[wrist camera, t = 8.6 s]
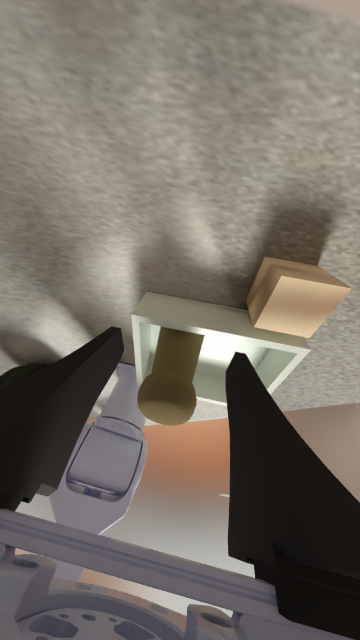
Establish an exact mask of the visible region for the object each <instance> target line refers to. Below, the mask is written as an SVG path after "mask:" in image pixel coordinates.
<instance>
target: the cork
mask: <svg viewBox="0 0 360 640" xmlns="http://www.w3.org/2000/svg"><path fill="white" fill-rule="evenodd" d="M204 336H205V335H202V334H197V333H192V332H187V331H182V330H177V329H172V328H167V327H162V326H161V327H160V332H159V337H158V342H157V347H156V352H155V357H154V362H153V367H152V372H151V374H150V375H148V376H147V377H146V378H145V379H144V381H143V382H142V384H141V386H140V388H139V391H138V396H137V402H138V408H139V410H140V411H141V413H142V414H143V415H144V416H145V417H147V418H148V419H150V420H152V421H154V422H157V423H160V424H164V425H180V424H183V423H185V422H187V421H188V420H189V419H190V418H191V416H192V415H193V412H194V410H195V407H196V399H197V398H196V392H195V388H194V386H193V384H192V382H193V378H194V374H195V370H196V366H197V363H198V359H199V355H200V351H201V347H202V344H203V340H204Z"/></svg>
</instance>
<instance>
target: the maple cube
mask: <svg viewBox="0 0 360 640" xmlns="http://www.w3.org/2000/svg"><path fill="white" fill-rule="evenodd" d="M351 289H352V288H351V287H349V286H348V285H346V284H345V283H343V282H342V281H340V280H339V279H337V278H335V277H334V276H332V275H331V274H329V273H328V272H326V271H325V270H323V269H322V268H320V267H319V266H317V265H311V264H305V263H299V262H294V261H288V260H282V259H276V258H271V257H264V259H263V262H262V264H261V266H260V269H259V271H258V273H257V275H256V278H255V280H254V282H253V285H252V287H251V289H250V291H249V294H248V296H247V298H246V303H247V307H248V310H249V313H250V316H251V319H252V323H253V326H254V327H256V328H261V329H266V330H271V331H276V332H281V333H286V334H291V335H296V336H301V337H306V338H310V337H311V336H312V334H313V333H314V332H315V331H316V330H317V329H318V327H319V326H320V325H321V324H322V323H323V322H324V321H325V319H326V318H327V317H328V316H329V315H330V314H331V312H332V311H333V310H334V309H335V308H336V307H337V306H338V304H339V303H340V302H341V301H342V300H343V299H344V297H345V296H346V295H347V294H348V293H349V292H350V291H351Z"/></svg>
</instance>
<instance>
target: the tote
mask: <svg viewBox="0 0 360 640" xmlns="http://www.w3.org/2000/svg"><path fill="white" fill-rule="evenodd" d="M131 318H132V330H133V342H134V354H135V366H136V378H137V386H138V387H140V386H141V384H142V382H143V381H144V379H145V378H146V377H147V376H148V375H150V374H151V372H152V367H153V362H154V357H155V352H156V347H157V342H158V337H159V332H160V327H161V326H162V327H167V328H172V329H177V330H182V331H187V332H192V333H197V334H202V335H205V336H204V340H203V344H202V347H201V351H200V355H199V359H198V363H197V366H196V370H195V374H194V378H193V382H192V384H193V386H194V388H195V392H196V398H197V400H202V401H206V402H211V403H215V404H220V405H224V406H227V400H226V389H225V376H226V370H227V368H228V366H229V364H230V362H231V360H232V358H233V356H234V354H235V352H240V353H245V354H246V355H247V357H248V358H249V360H250V362H251V364H252V365H253V367H254V369H255V371H256V372H257V374H258V376H259V378H260V379H261V381H262V383H263V384H264V386H265V387H266V389H267V391H268V392H269V394H271V393H272V392H273V391H274V390H275V389H276V387H277V386H278V385H279V384H280V383H281V382H282V381H283V380H284V379H285V378H286V377H287V375H288V374H289V373H290V372H291V371H292V370H293V369H294V368H295V367H296V366H297V365H298V364H299V362H300V361H301V360H302V359H303V358H304V357H305V356H306V355H307V354H308V353H309V352H310V351H311V348H310V347H309V345H308V344H307V342H306V341H305V339H304V338H303V337H301V336H296V335H291V334H286V333H281V332H276V331H271V330H266V329H261V328H256V327H254V326H253V323H252V319H251V316H250V313H249V310H243V309H238V308H233V307H227V306H222V305H217V304H211V303H206V302H201V301H195V300H190V299H184V298H179V297H174V296H168V295H163V294H158V293H152V292H146V294H145V295H144V297H143V298H142V300H141V301H140V302H139V304H138V305H137V307H136V308H135V310H134V311H133V312H132V314H131Z"/></svg>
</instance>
